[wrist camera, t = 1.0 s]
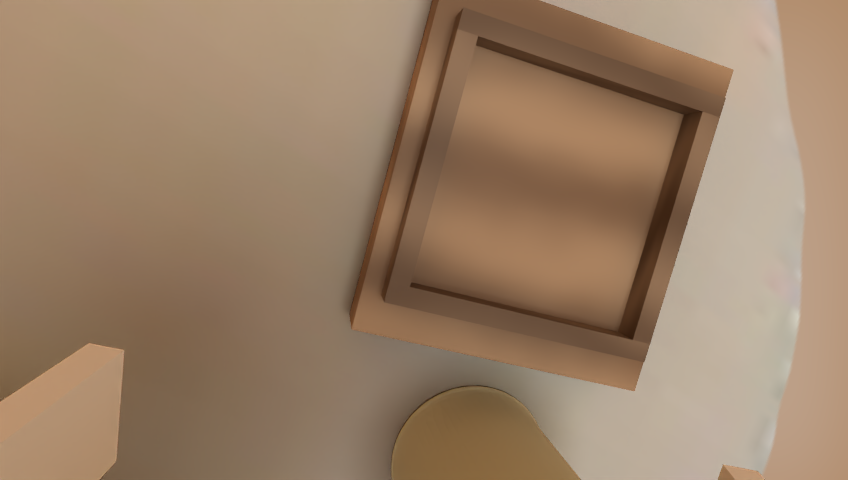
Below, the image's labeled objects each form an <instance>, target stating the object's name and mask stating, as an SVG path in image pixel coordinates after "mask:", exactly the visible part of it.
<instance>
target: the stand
mask: <svg viewBox="0 0 848 480" xmlns="http://www.w3.org/2000/svg"><path fill="white" fill-rule="evenodd" d="M732 73H733V70H732V69H730V68H727V67H724V66H721V65H718V64H716V63H713V62H710V61H707V60H705V59H702V58H699V57H696V56H693V55H691V54H688V53H685V52H682V51H679V50H677V49H674V48H671V47H668V46H665V45H663V44H660V43H657V42H654V41H651V40H649V39H646V38H643V37H640V36H638V35H635V34H632V33H629V32H626V31H624V30H621V29H618V28H615V27H612V26H610V25H607V24H604V23H601V22H598V21H596V20H593V19H590V18H587V17H584V16H582V15H579V14H576V13H573V12H571V11H568V10H565V9H562V8H559V7H557V6H554V5H551V4H548V3H545V2H543V1H540V0H432V4H431V8H430V12H429V16H428V19H427V23H426V27H425V31H424V34H423V38H422V42H421V46H420V50H419V53H418V57H417V61H416V65H415V68H414V72H413V76H412V80H411V84H410V87H409V91H408V95H407V99H406V102H405V106H404V110H403V114H402V118H401V121H400V125H399V129H398V133H397V136H396V140H395V144H394V148H393V152H392V155H391V159H390V163H389V167H388V170H387V174H386V178H385V182H384V186H383V189H382V193H381V197H380V201H379V204H378V208H377V212H376V216H375V220H374V223H373V227H372V231H371V235H370V239H369V242H368V246H367V250H366V254H365V257H364V261H363V265H362V269H361V273H360V276H359V280H358V284H357V288H356V291H355V295H354V299H353V303H352V307H351V310H350V322H351V329H353V330H357V331H362V332H366V333H371V334H375V335H380V336H385V337H389V338H394V339H398V340H403V341H407V342H412V343H417V344H421V345H426V346H430V347H435V348H439V349H444V350H449V351H453V352H458V353H462V354H467V355H471V356H476V357H481V358H485V359H490V360H494V361H499V362H503V363H508V364H513V365H517V366H522V367H526V368H531V369H535V370H540V371H544V372H549V373H554V374H558V375H563V376H567V377H572V378H576V379H581V380H586V381H590V382H595V383H599V384H604V385H608V386H613V387H618V388H622V389H627V390H631V391H635V388H636V385H637V381H638V378H639V375H640V372H641V368H642V365H643V362H644V361H645V358H646V355H647V352H648V348H649V345H650V342H651V339H652V335H653V332H654V329H655V326H656V322H657V319H658V316H659V313H660V310H661V306H662V303H663V300H664V297H665V293H666V290H667V287H668V284H669V280H670V277H671V274H672V271H673V267H674V264H675V261H676V258H677V254H678V251H679V248H680V245H681V241H682V238H683V235H684V232H685V228H686V225H687V222H688V219H689V215H690V212H691V209H692V206H693V202H694V199H695V196H696V193H697V189H698V186H699V183H700V180H701V177H702V173H703V170H704V167H705V164H706V160H707V157H708V154H709V151H710V147H711V144H712V141H713V138H714V134H715V131H716V128H717V125H718V121H719V118H720V115H721V112H722V108H723V105H724V102H725V99H726V98H725V96H726V92H727V89H728V86H729V83H730V79H731V76H732Z"/></svg>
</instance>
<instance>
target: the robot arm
mask: <svg viewBox="0 0 848 480" xmlns="http://www.w3.org/2000/svg"><path fill="white" fill-rule="evenodd" d="M123 362H124V350H122V349H117V348H112V347H107V346H101V345H96V344H91V343H88V344H87V345H85V346H84V347H82V348H81V349H79V350H78V351H76V352H75V353H73V354H72V355H70V356H69V357H67V358H66V359H64V360H63V361H61V362H60V363H58V364H57V365H55V366H54V367H52V368H50V369H49V370H47V371H46V372H44V373H43V374H41V375H40V376H38V377H37V378H35V379H34V380H32V381H31V382H29V383H28V384H26V385H25V386H23V387H22V388H20V389H19V390H17V391H16V392H14V393H13V394H11V395H10V396H8V397H7V398H5V399H4V400H2V401H1V402H0V480H99V479H100V478H101V477H102V476H103V475H104V474H105V473H106V472H107V471H108V470H109V469H110V468H111V467H112V465H113V464H114V463H115V462H116V460H117V446H118V432H119V418H120V404H121V390H122V376H123ZM718 480H765V479H764V478H763V477H762V476H761V474H760V473H759V472H758V471H754V470H749V469H744V468H739V467H733V466H728V465H723V466H722V469H721V472H720V475H719V477H718Z"/></svg>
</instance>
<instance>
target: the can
mask: <svg viewBox="0 0 848 480" xmlns="http://www.w3.org/2000/svg"><path fill="white" fill-rule="evenodd" d="M391 476H392V480H581V479H580V478H579V477H578V475H577V474H576V473H575V472H574V471H573V469H572V468H571V467H570V466H569V464H568V463H567V462H566V461H565V460H564V458H563V457H562V456H561V455H560V453H559V452H558V451H557V450H556V449H555V447H554V446H553V445H552V444H551V442H550V441H549V440H548V439H547V437H546V436H545V435H544V434H543V432H542V431H541V430H540V428H539V426H538V424H537V422H536V420H535V419H534V417H533V415H532V414H531V413H530V412H529V410H528V409H527V408H526V407H525V406H524V405H523V404H522V403H521V402H519V401H518V400H517V399H516V398H514V397H513V396H511V395H509V394H507V393H505V392H503V391H500V390H497V389H494V388H489V387H483V386H466V387H460V388H455V389H451V390H448V391H445V392H443V393H441V394H438V395H437V396H435V397H433V398H431V399H430V400H428V401H427V402H425V403H424V404H423V405H422V406H420V407H419V408H418V409H417V410H416V411H415V412H414V413H413V414H412V415H411V416H410V418H409V419H408V420H407V422H406V423H405V424H404V426H403V428H402V429H401V431H400V433H399V435H398V437H397V440H396V442H395V445H394V449H393V453H392V460H391Z"/></svg>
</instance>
